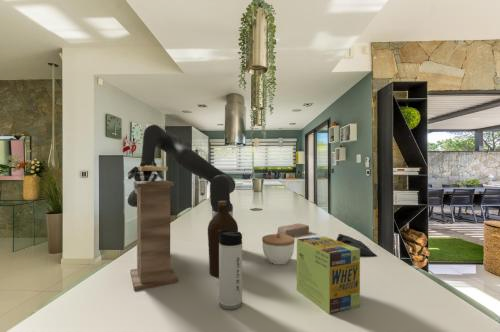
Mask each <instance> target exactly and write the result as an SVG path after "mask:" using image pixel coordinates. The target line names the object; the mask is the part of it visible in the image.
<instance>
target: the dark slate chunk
mask: <svg viewBox="0 0 500 332" xmlns="http://www.w3.org/2000/svg"><path fill="white" fill-rule="evenodd" d="M335 240H336V241H339V242H342V243H345V244H347V245H350V246H353V247H356V248H359V249H360V256H364V257H365V256H366V257H377V254H376V253H374V251H372V250H371V249H370V247H368V246H367V245H366V244H365V243H364V242H362V240H357V239H356V238H353V237H351V236H349V235H345V234H342V233H338V236H337V238H336V239H335Z"/></svg>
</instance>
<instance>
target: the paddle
mask: <svg viewBox="0 0 500 332" xmlns="http://www.w3.org/2000/svg"><path fill="white" fill-rule="evenodd" d="M137 167H138V170H140V171H162V172H163V171H164V172H165V171H167V172H168V168H169V167H168V166H157V167H155V166H145V167H139V166H137Z"/></svg>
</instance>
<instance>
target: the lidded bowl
mask: <svg viewBox="0 0 500 332" xmlns="http://www.w3.org/2000/svg"><path fill="white" fill-rule="evenodd" d="M261 239H262V251H263V254H264V257H265V258H266V259H267V260H268V262H269V263H270V264H272V263H273V265H285V264H287V263H288V262H289V261H290V260H291V258H293V255H294V251H295V242H296V241H295V237H294V236H289V235H283V234H280V233H278V232H277V233H274V234H273V233H272V234H267V235H263V236H262V238H261Z"/></svg>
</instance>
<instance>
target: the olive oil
mask: <svg viewBox="0 0 500 332" xmlns="http://www.w3.org/2000/svg"><path fill="white" fill-rule="evenodd" d="M218 203H219V205H218V213H217V214H216V215H215V216H214V217H213V218H212V217H211V219H210V221H208V226H207V243H208V244H207V245H208V265H209V267H208V268H209V269H208V271H209V274H210V275H211V276H213V277H216V278H219V237H220V234H218V230H234V231H238V232H239V227H238V226H239V225H238V222H237V220H236V219H235V218H234V216H233V217H232V216H231V215H230V214H229V213H228V205H227V201H218Z"/></svg>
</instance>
